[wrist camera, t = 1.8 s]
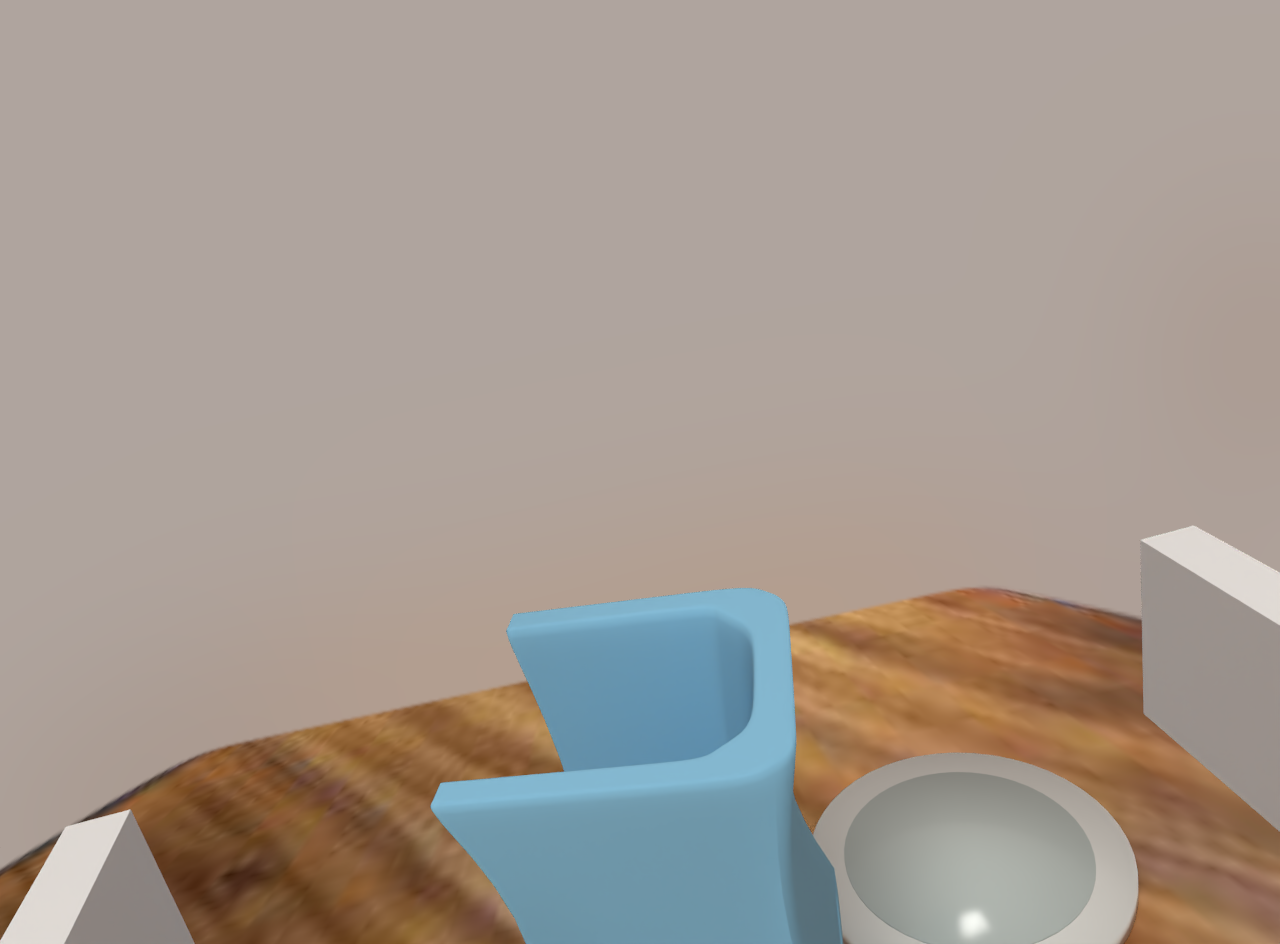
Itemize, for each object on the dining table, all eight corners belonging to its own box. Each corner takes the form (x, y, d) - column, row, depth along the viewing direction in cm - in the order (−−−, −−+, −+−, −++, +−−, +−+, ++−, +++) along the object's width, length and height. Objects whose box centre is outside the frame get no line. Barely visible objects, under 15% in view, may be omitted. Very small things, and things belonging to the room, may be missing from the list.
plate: (750, 884, 43) (747, 869, 43) (928, 732, 50) (926, 717, 50) (1024, 1072, 33) (1022, 1054, 33) (1198, 849, 40) (1198, 832, 40)
